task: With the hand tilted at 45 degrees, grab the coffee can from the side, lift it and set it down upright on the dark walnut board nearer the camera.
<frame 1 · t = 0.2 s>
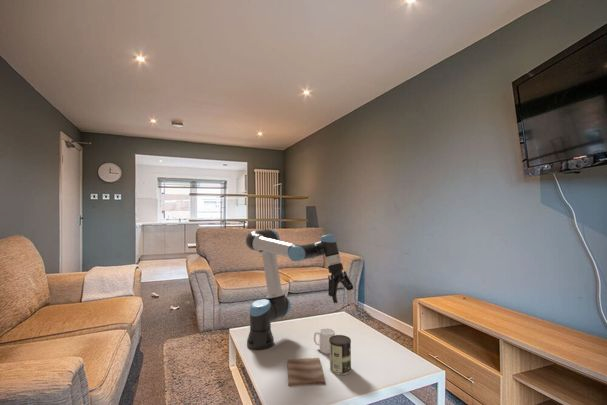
hand: (345, 306, 146), 28 cm above the table, tool tilted 20°, fingers open, 13 cm apart
coffee can: (340, 369, 139), on the table
cup: (323, 349, 159), on the table
walnut board: (304, 371, 137), on the table
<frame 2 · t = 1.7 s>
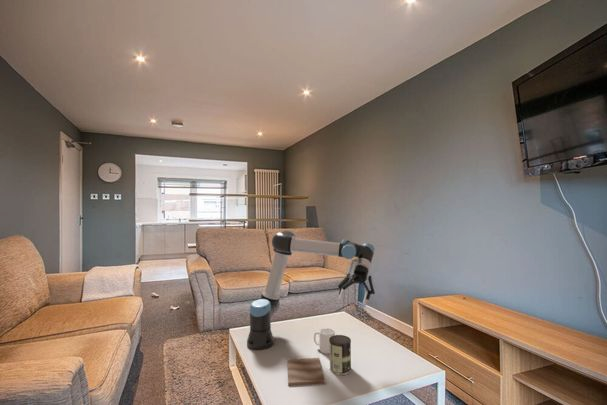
hand: (351, 302, 150), 28 cm above the table, tool tilted 45°, fingers open, 13 cm apart
nothing on the table moved.
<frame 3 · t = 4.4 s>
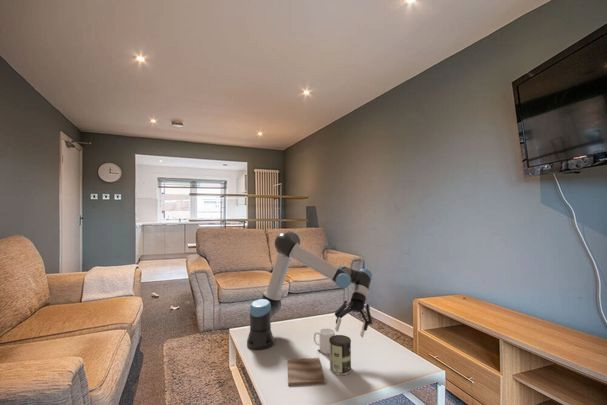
hand: (348, 333, 146), 14 cm above the table, tool tilted 45°, fingers open, 13 cm apart
nothing on the table moved.
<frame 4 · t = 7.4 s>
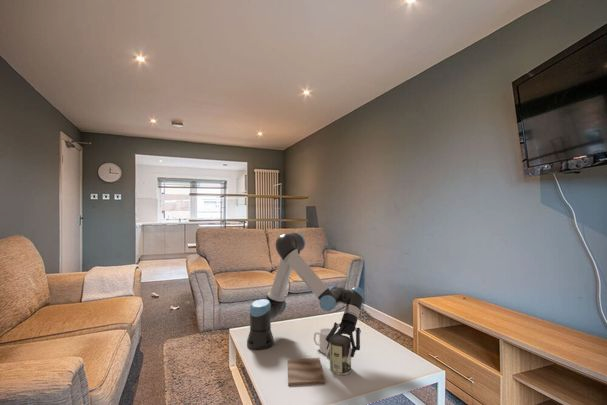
hand: (337, 360, 137), 5 cm above the table, tool tilted 45°, fingers closed on coffee can, 10 cm apart
coffee can: (340, 369, 139), on the table, touching gripper
everything else where it was.
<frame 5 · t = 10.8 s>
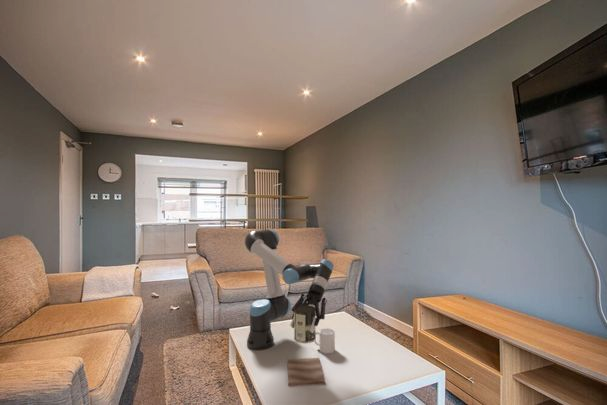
hand: (301, 329, 135), 21 cm above the table, tool tilted 45°, fingers closed on coffee can, 10 cm apart
coffee can: (304, 339, 138), point 15 cm above the table, touching gripper
everything else where it was.
when the fingers open (8 cm above the table, at t = 14.7 s): coffee can drops 1 cm, resting on walnut board.
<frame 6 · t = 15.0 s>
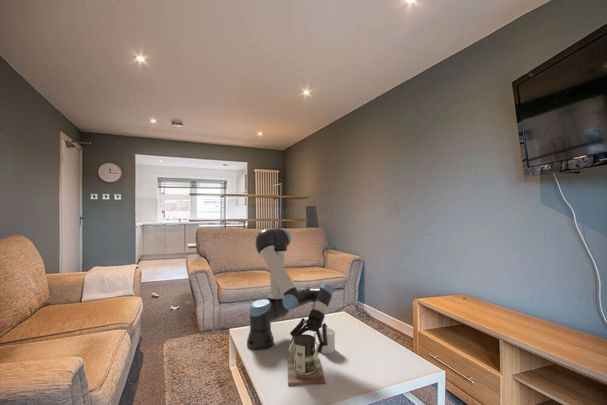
hand: (302, 355, 135), 9 cm above the table, tool tilted 45°, fingers open, 13 cm apart
coffee can: (304, 369, 137), point 1 cm above the table, touching walnut board
everything else where it was.
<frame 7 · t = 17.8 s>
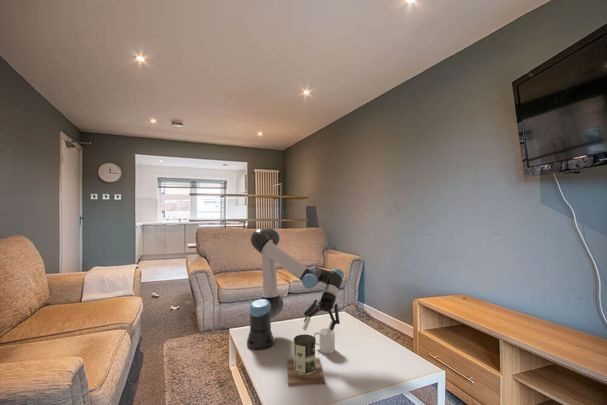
hand: (315, 332, 147), 14 cm above the table, tool tilted 45°, fingers open, 13 cm apart
nothing on the table moved.
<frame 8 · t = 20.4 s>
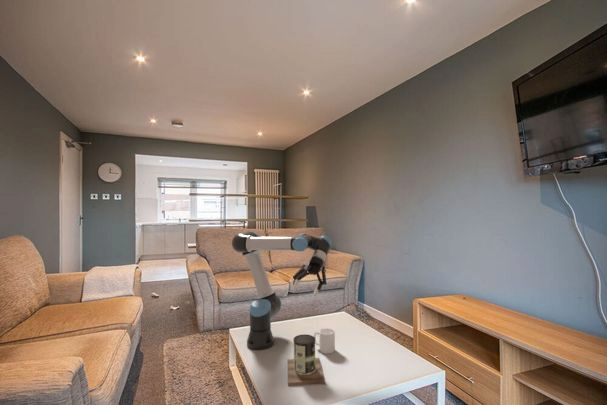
hand: (303, 293, 152), 33 cm above the table, tool tilted 45°, fingers open, 13 cm apart
nothing on the table moved.
at the end: coffee can inside the target area on the walnut board (0.1 cm from its centre), point 1.0 cm above the walnut board's base; coffee can tilted 0°; the gripper is holding nothing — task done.
